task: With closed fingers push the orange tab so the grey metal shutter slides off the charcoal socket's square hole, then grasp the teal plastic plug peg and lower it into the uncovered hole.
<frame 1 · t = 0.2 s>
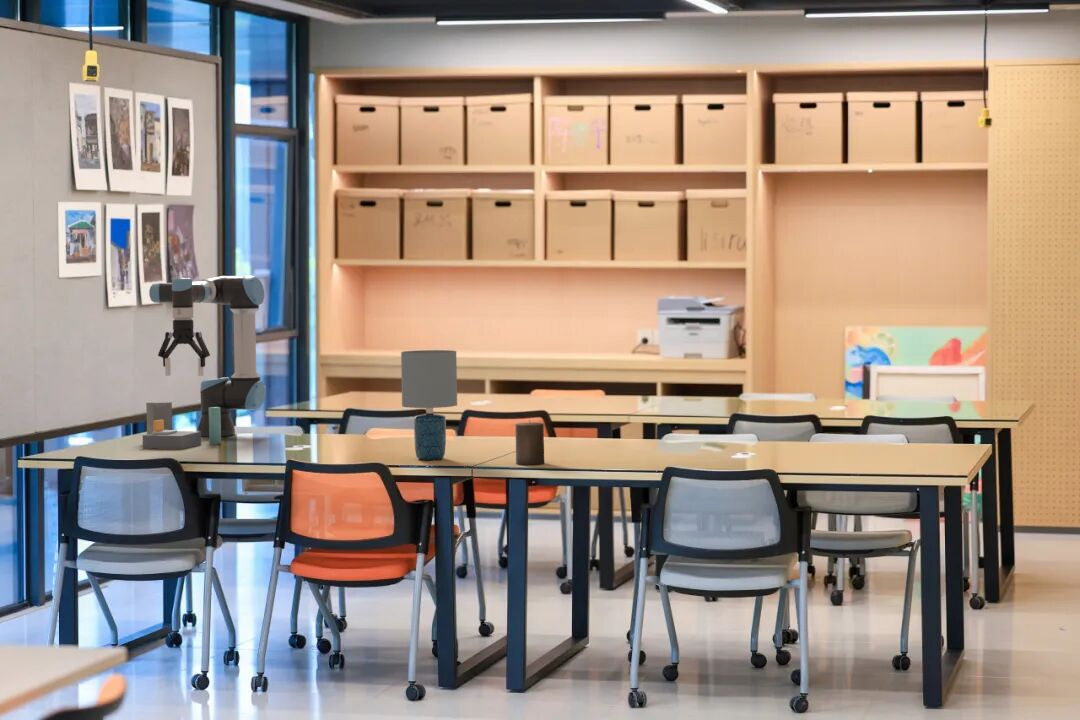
hand: (184, 375, 595), 28 cm above the table, fingers open, 13 cm apart
pillar candle: (529, 464, 540), on the table
skincare box: (160, 442, 623), on the table
lamp: (430, 459, 556), on the table
plug peg: (215, 443, 614), on the table
socket: (172, 446, 606), on the table
shutter: (164, 426, 606), point 8 cm above the table, slide at 0.0 cm
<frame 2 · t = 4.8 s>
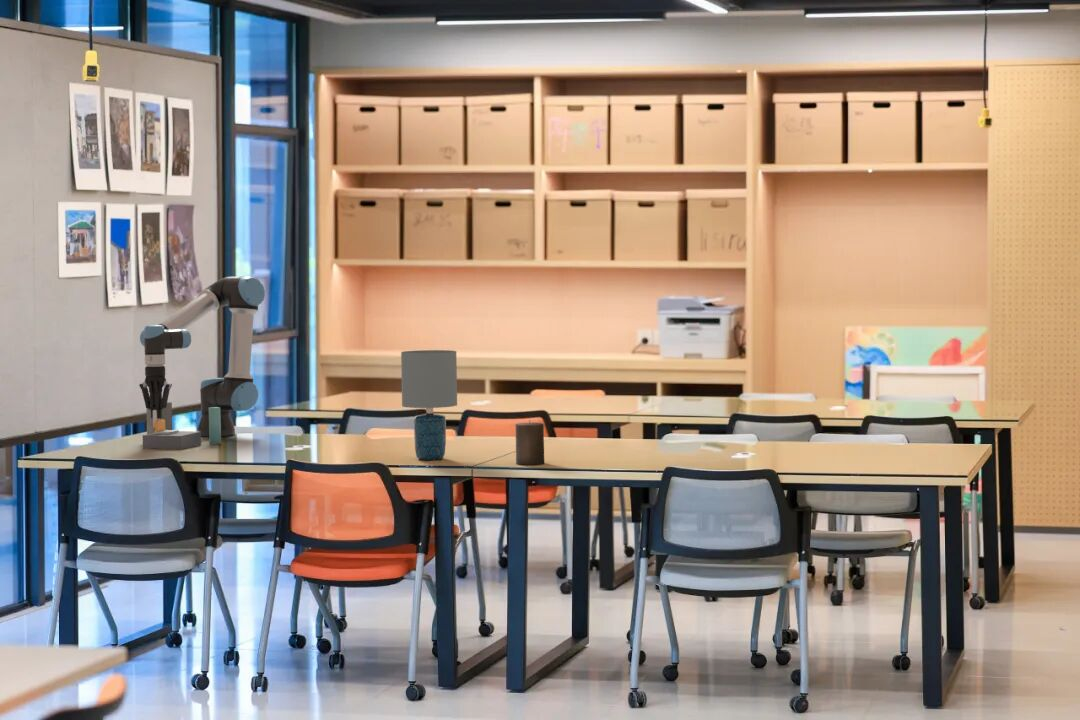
hand: (156, 427, 607), 7 cm above the table, fingers closed
shutter: (166, 426, 606), point 8 cm above the table, slide at 0.6 cm, touching gripper
everything else where it was.
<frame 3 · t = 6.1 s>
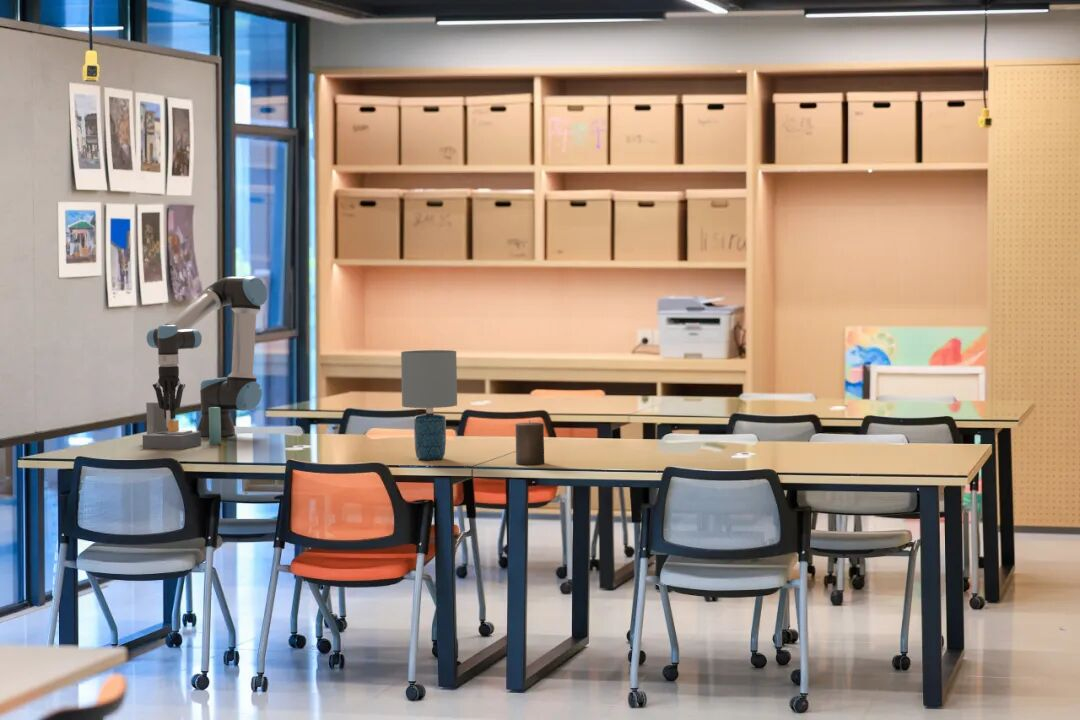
hand: (170, 427, 606), 7 cm above the table, fingers closed
shutter: (179, 426, 605), point 8 cm above the table, slide at 6.3 cm, touching gripper
everything else where it was.
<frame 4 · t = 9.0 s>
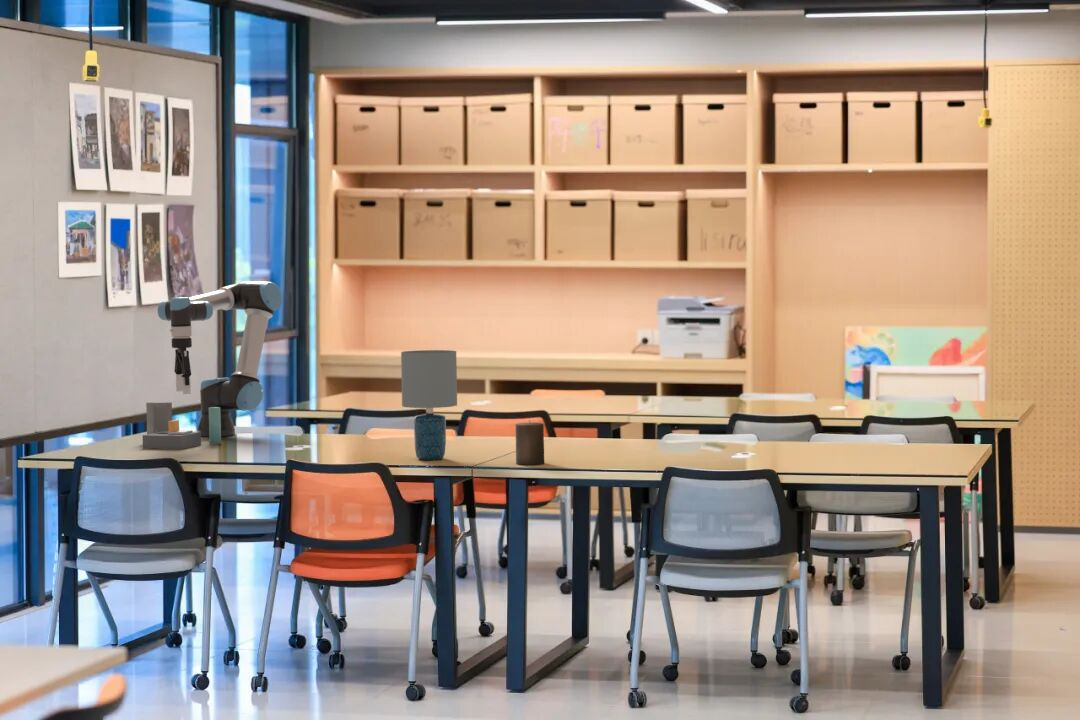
hand: (183, 392, 610), 20 cm above the table, fingers open, 13 cm apart
shutter: (180, 426, 605), point 8 cm above the table, slide at 6.5 cm
everything else where it was.
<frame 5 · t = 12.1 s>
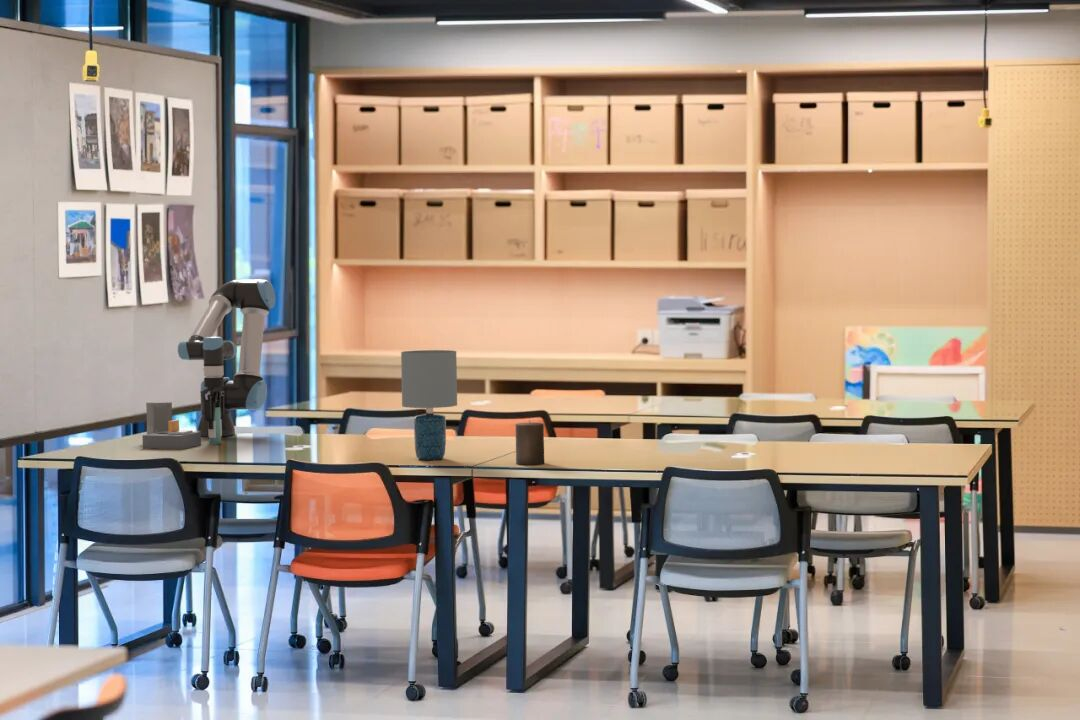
hand: (215, 436, 614), 3 cm above the table, fingers closed on plug peg, 4 cm apart
plug peg: (215, 443, 614), on the table, touching gripper
everything else where it was.
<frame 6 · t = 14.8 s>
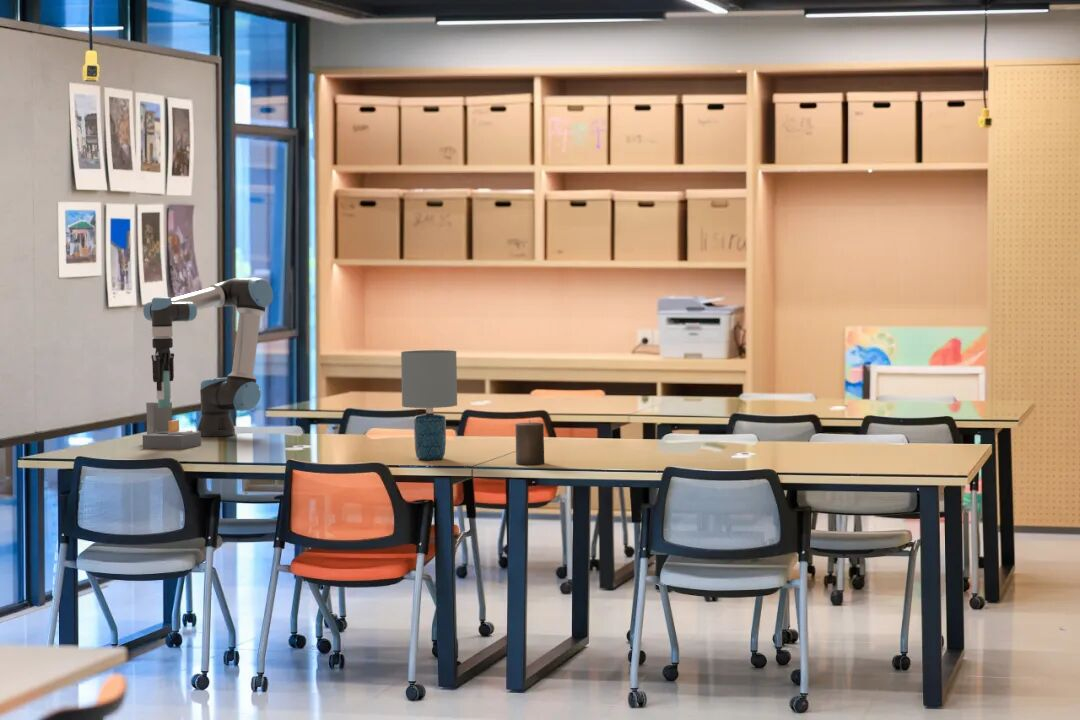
hand: (163, 398, 606), 18 cm above the table, fingers closed on plug peg, 4 cm apart
plug peg: (164, 407, 606), point 15 cm above the table, touching gripper
everything else where it was.
when the fingers open (6 cm above the table, at t = 17.9 s): plug peg stays where it is, resting on socket.
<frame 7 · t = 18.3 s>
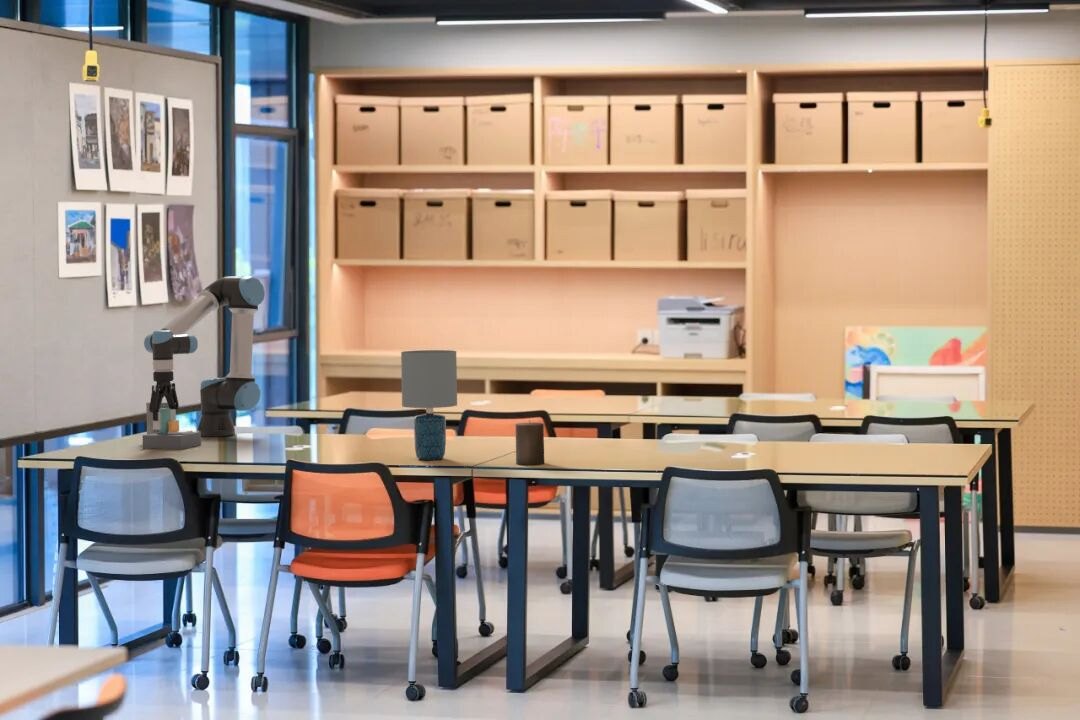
hand: (164, 427, 606), 7 cm above the table, fingers open, 11 cm apart
plug peg: (165, 445, 607), resting on socket
everything else where it was.
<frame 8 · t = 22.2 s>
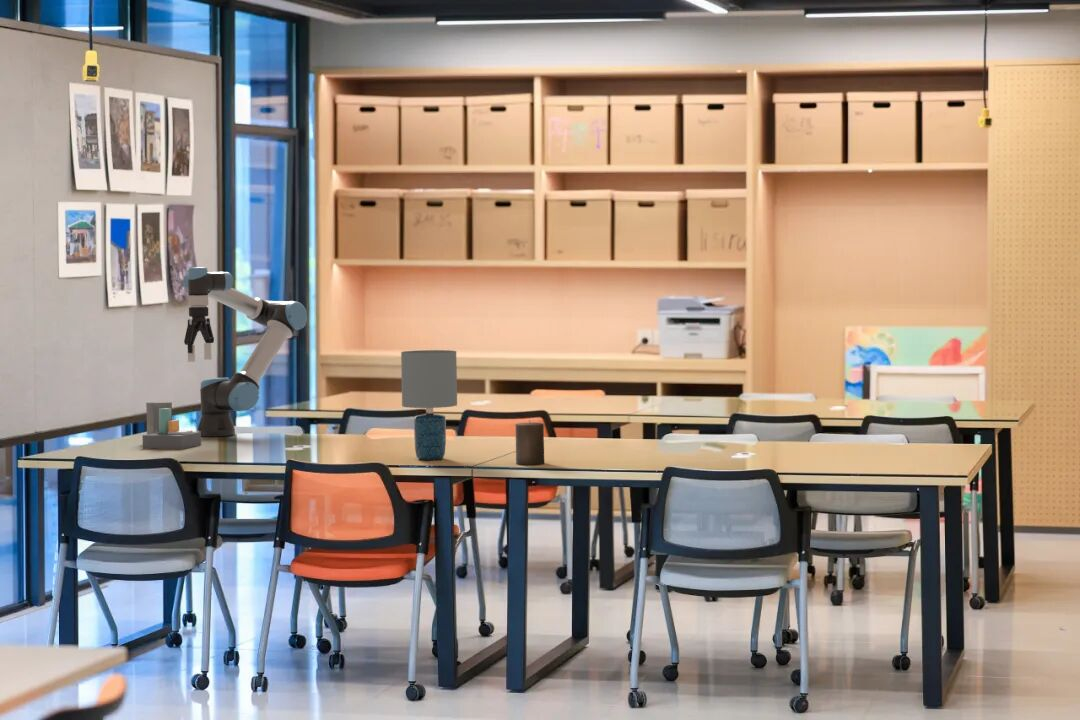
hand: (199, 360, 623), 32 cm above the table, fingers open, 13 cm apart
nothing on the table moved.
at the end: shutter slide at 6.5 cm; plug peg 0.1 cm from the target spot on the socket, point 0.4 cm above the socket's base; plug peg tilted 1° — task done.
